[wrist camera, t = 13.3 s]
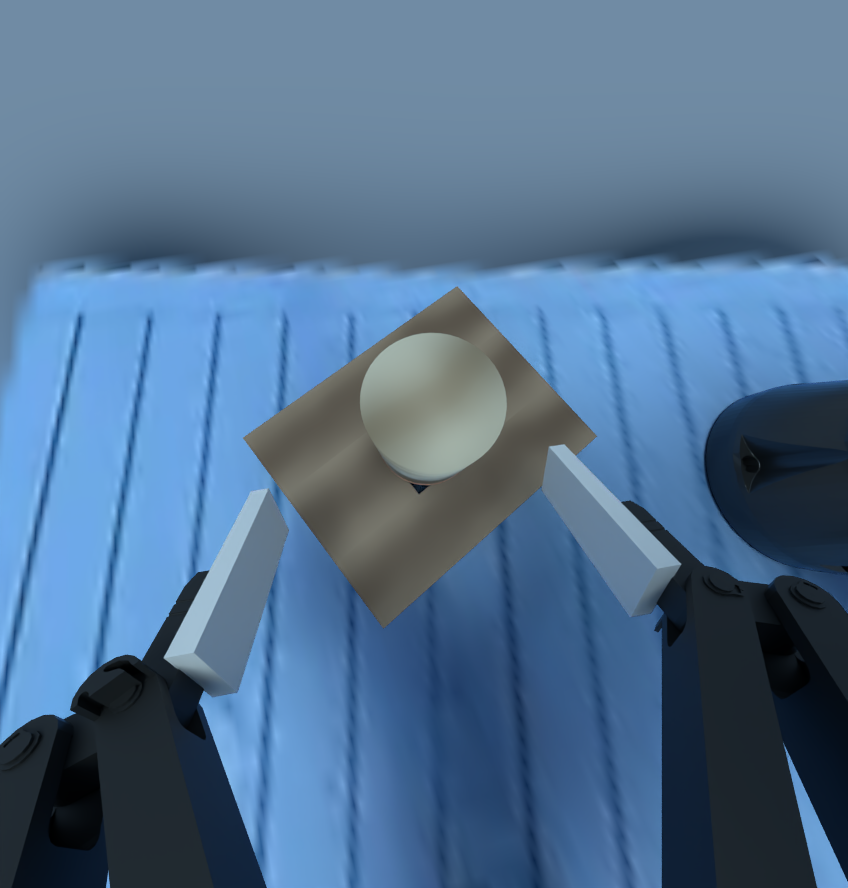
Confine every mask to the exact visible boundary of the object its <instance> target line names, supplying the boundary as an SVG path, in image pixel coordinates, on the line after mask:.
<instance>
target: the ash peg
mask: <svg viewBox="0 0 848 888" xmlns="http://www.w3.org/2000/svg"><path fill="white" fill-rule="evenodd" d="M506 409H507V398H506V392H505V387H504V384H503V381H502V378H501V376H500V374H499V372H498V370H497V369H496V367H495V365H494V364H493V363H492V361H491V360H490V359H489V358H488V357H487V356H486V355H485V354H484V353H483V352H482V351H481V350H480V349H478V348H477V347H476V346H474V345H472V344H471V343H469V342H467V341H465V340H463V339H461V338H458V337H455V336H452V335H448V334H442V333H422V334H416V335H412V336H409V337H406V338H403V339H401V340H399V341H397V342H395V343H393V344H392V345H390V346H388V347H387V348H386V349H385V350H384V351H382V352H381V353H380V354H379V355H378V356H377V357H376V359H375V360H374V361H373V363H372V364H371V365H370V367H369V369H368V371H367V373H366V375H365V377H364V380H363V383H362V388H361V393H360V410H361V415H362V420H363V423H364V426H365V428H366V430H367V432H368V434H369V436H370V438H371V440H372V441H373V443H374V444H375V446H376V448H377V449H378V451H379V453H380V455H381V457H382V459H383V461H384V462H385V464H386V465H387V467H388V468H389V469H390V470H391V471H392V472H393V473H394V474H395V475H397V476H398V477H400V478H401V479H403V480H405V481H407V482H410V483H413V484H418V485H435V484H439V483H442V482H445V481H447V480H449V479H451V478H452V477H454V476H455V475H457V474H458V473H459V472H460V471H462V470H463V469H465V468H466V467H468V466H469V465H471V464H472V463H473V462H475V461H476V460H478V459H479V458H480V457H482V456H483V455H484V454H485V453H486V452H487V451H488V450H489V449H490V448H491V447H492V445H493V444H494V443H495V441H496V440H497V438H498V436H499V435H500V432H501V430H502V428H503V425H504V421H505V417H506Z"/></svg>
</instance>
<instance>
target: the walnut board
mask: <svg viewBox="0 0 848 888" xmlns="http://www.w3.org/2000/svg"><path fill="white" fill-rule="evenodd" d="M422 333H442V334H448V335H452V336H455V337H458V338H461V339H463V340H465V341H467V342H469V343H471V344H472V345H474V346H476V347H477V348H478V349H480V350H481V351H482V352H483V353H484V354H485V355H486V356H487V357H488V358H489V359H490V360H491V361H492V363H493V364H494V365H495V367H496V369H497V370H498V372H499V374H500V376H501V378H502V381H503V384H504V387H505V392H506V398H507V409H506V417H505V421H504V425H503V428H502V430H501V432H500V435H499V436H498V438H497V440H496V441H495V443H494V444H493V445H492V447H491V448H490V449H489V450H488V451H487V452H486V453H485V454H484V455H483V456H482V457H480V458H479V459H478V460H476V461H475V462H473V463H472V464H471V465H469V466H468V467H466V468H465V469H463V470H462V471H460V472H459V473H458V474H457V475H455V476H454V477H452V478H451V479H449V480H447V481H445V482H442V483H439V484H435V485H430V486H428V487H427V488H426V489H425V490H424V491H422V492H421V493H420V494H418V492H417V491H416V490H415V489H414V487H413V486H412V485H411V484H410V482H407V481H405V480H403V479H401V478H400V477H398V476H397V475H395V474H394V473H393V472H392V471H391V470H390V469H389V468H388V467H387V465H386V464H385V462H384V461H383V459H382V457H381V455H380V453H379V451H378V449H377V448H376V446H375V444H374V443H373V441H372V440H371V438H370V436H369V434H368V432H367V430H366V428H365V426H364V423H363V420H362V415H361V410H360V393H361V388H362V383H363V380H364V377H365V375H366V373H367V371H368V369H369V367H370V365H371V364H372V363H373V361H374V360H375V359H376V357H377V356H378V355H379V354H380V353H381V352H382V351H384V350H385V349H386V348H387V347H388V346H390V345H392V344H393V343H395V342H397V341H399V340H401V339H403V338H406V337H409V336H412V335H416V334H422ZM596 437H597V436H596V435H595V433H594V432H593V431H592V430H591V429H590V428H589V427H588V426H587V425H586V424H585V423H584V422H583V421H582V420H581V418H580V417H579V416H578V415H577V414H576V413H575V412H574V411H573V410H572V409H571V408H570V407H569V406H568V405H567V403H566V402H565V401H564V400H563V399H562V398H561V397H560V396H559V395H558V394H557V393H556V392H555V391H554V390H553V388H552V387H551V386H550V385H549V384H548V383H547V382H546V381H545V380H544V379H543V378H542V377H541V376H540V375H539V373H538V372H537V371H536V370H535V369H534V368H533V367H532V366H531V365H530V364H529V363H528V362H527V361H526V360H525V358H524V357H523V356H522V355H521V354H520V353H519V352H518V351H517V350H516V349H515V348H514V347H513V346H512V344H511V343H510V342H509V341H508V340H507V339H506V338H505V337H504V336H503V335H502V334H501V333H500V332H499V331H498V329H497V328H496V327H495V326H494V325H493V324H492V323H491V322H490V321H489V320H488V319H487V318H486V317H485V316H484V314H483V313H482V312H481V311H480V310H479V309H478V308H477V307H476V306H475V305H474V304H473V303H472V302H471V301H470V299H469V298H468V297H467V296H466V295H465V294H464V293H463V292H462V291H461V290H460V289H459V288H458V287H455V288H454V289H452V290H451V291H450V292H448V293H447V294H445V295H444V296H443V297H441V298H440V299H438V300H437V301H436V302H434V303H433V304H431V305H430V306H428V307H427V308H426V309H424V310H423V311H421V312H420V313H419V314H417V315H416V316H414V317H413V318H412V319H410V320H409V321H407V322H406V323H404V324H403V325H402V326H400V327H399V328H397V329H396V330H395V331H393V332H392V333H390V334H389V335H388V336H386V337H385V338H383V339H382V340H380V341H379V342H378V343H376V344H375V345H373V346H372V347H371V348H369V349H368V350H366V351H365V352H364V353H362V354H361V355H359V356H358V357H356V358H355V359H354V360H352V361H351V362H349V363H348V364H347V365H345V366H344V367H342V368H341V369H340V370H338V371H337V372H335V373H334V374H332V375H331V376H330V377H328V378H327V379H325V380H324V381H323V382H321V383H320V384H318V385H317V386H316V387H314V388H313V389H311V390H310V391H308V392H307V393H306V394H304V395H303V396H301V397H300V398H299V399H297V400H296V401H294V402H293V403H292V404H290V405H289V406H287V407H286V408H284V409H283V410H282V411H280V412H279V413H277V414H276V415H275V416H273V417H272V418H270V419H269V420H268V421H266V422H265V423H263V424H262V425H260V426H259V427H258V428H256V429H255V430H253V431H252V432H251V433H249V434H248V435H246V436H245V437H244V438H243V439H244V440H245V441H246V443H247V444H248V445H249V447H250V448H251V450H252V451H253V452H254V454H255V455H256V456H257V458H258V459H259V460H260V462H261V463H262V464H263V466H264V467H265V469H266V470H267V471H268V473H269V474H270V475H271V477H272V478H273V479H274V481H275V482H276V483H277V485H278V486H279V488H280V489H281V490H282V492H283V493H284V494H285V496H286V497H287V498H288V500H289V501H290V502H291V504H292V505H293V507H294V508H295V509H296V511H297V512H298V513H299V515H300V516H301V517H302V519H303V520H304V521H305V523H306V524H307V526H308V527H309V528H310V530H311V531H312V532H313V534H314V535H315V536H316V538H317V539H318V540H319V542H320V543H321V545H322V546H323V547H324V549H325V550H326V551H327V553H328V554H329V555H330V557H331V558H332V559H333V561H334V562H335V564H336V565H337V566H338V568H339V569H340V570H341V572H342V573H343V574H344V576H345V577H346V578H347V580H348V581H349V583H350V584H351V585H352V587H353V588H354V589H355V591H356V592H357V593H358V595H359V596H360V597H361V599H362V600H363V602H364V603H365V604H366V606H367V607H368V608H369V610H370V611H371V612H372V614H373V615H374V617H375V618H376V619H377V621H378V622H379V623H380V625H381V626H382V627H383V629H384V628H385V627H386V626H387V625H388V624H389V623H390V622H391V621H393V620H394V619H395V618H396V617H397V616H398V615H399V614H400V613H401V612H403V611H404V610H405V609H406V608H407V607H408V606H409V605H410V604H411V603H413V602H414V601H415V600H416V599H417V598H418V597H419V596H420V595H421V594H423V593H424V592H425V591H426V590H427V589H428V588H429V587H430V586H431V585H433V584H434V583H435V582H436V581H437V580H438V579H439V578H440V577H441V576H443V575H444V574H445V573H446V572H447V571H448V570H449V569H450V568H451V567H453V566H454V565H455V564H456V563H457V562H458V561H459V560H460V559H461V558H463V557H464V556H465V555H466V554H467V553H468V552H469V551H470V550H471V549H473V548H474V547H475V546H476V545H477V544H478V543H479V542H480V541H481V540H483V539H484V538H485V537H486V536H487V535H488V534H489V533H490V532H491V531H493V530H494V529H495V528H496V527H497V526H498V525H499V524H500V523H501V522H503V521H504V520H505V519H506V518H507V517H508V516H509V515H510V514H511V513H513V512H514V511H515V510H516V509H517V508H518V507H519V506H520V505H521V504H522V503H524V502H525V501H526V500H527V499H528V498H529V497H530V496H531V495H532V494H534V493H535V492H536V491H537V490H538V489H539V488H540V487H541V486H542V484H543V478H544V472H545V466H546V461H547V455H548V449H549V447H550V446H556V445H563V444H564V445H565V446H566V447H567V448H568V449H569V450H570V451H571V452H572V453H573V454H574V455H575V456H576V455H577V454H578V453H579V452H580V451H581V450H582V449H584V448H585V447H586V446H587V445H588V444H589V443H590V442H591V441H592V440H594V439H595V438H596Z"/></svg>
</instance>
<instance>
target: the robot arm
mask: <svg viewBox="0 0 848 888" xmlns="http://www.w3.org/2000/svg"><path fill="white" fill-rule="evenodd" d="M706 465H707V473H708V479H709V483H710V486H711V490H712V492H713V495H714V497H715V500H716V502H717V504H718V506H719V508H720V510H721V511H722V513H723V514H724V516H725V518H726V519H727V520H728V522H729V523H730V524H731V526H732V527H733V528H734V529H735V530H736V532H737V533H738V534H739V535H740V536H741V537H742V538H743V539H744V540H745V541H747V542H748V543H749V544H750V545H751V546H753V547H754V548H755V549H757V550H758V551H760V552H761V553H763V554H764V555H766V556H768V557H770V558H772V559H774V560H776V561H778V562H781V563H783V564H786V565H789V566H793V567H798V568H803V569H809V570H816V571H822V572H828V573H835V574H848V380H845V381H831V382H819V383H808V384H791V385H785V386H780V387H776V388H772V389H769V390H766V391H763V392H760V393H756V394H753V395H750V396H747V397H745V398H742V399H740V400H738V401H737V402H735V403H733V404H732V405H731V406H729V407H728V408H727V409H726V410H725V411H724V412H723V413H722V414H721V415H720V417H719V418H718V419H717V421H716V423H715V424H714V426H713V428H712V431H711V433H710V436H709V440H708V444H707V452H706ZM542 491H543V493H544V494H545V496H546V497H547V499H548V500H549V501H550V503H551V504H552V506H553V507H554V509H555V510H556V511H557V513H558V514H559V516H560V517H561V519H562V520H563V522H564V523H565V524H566V526H567V527H568V529H569V530H570V532H571V533H572V535H573V536H574V537H575V539H576V540H577V542H578V543H579V545H580V546H581V548H582V549H583V550H584V552H585V553H586V555H587V556H588V558H589V559H590V561H591V562H592V563H593V565H594V566H595V568H596V569H597V571H598V572H599V573H600V575H601V576H602V578H603V579H604V581H605V582H606V584H607V585H608V586H609V588H610V589H611V591H612V592H613V594H614V595H615V597H616V598H617V599H618V601H619V602H620V604H621V605H622V607H623V608H624V610H625V611H626V612H627V614H628V615H629V617H635V616H640V615H645V614H651V613H652V611H653V609H654V608H655V606H656V604H658V605H659V607H660V608H661V609H662V611H663V612H664V614H663V615H662V617H661V618H660V620H659V621H658V623H657V625H656V627H655V630H654V631H657V632H659V631H660V629H661V628H662V888H817V885H816V881H815V877H814V872H813V868H812V864H811V860H810V855H809V851H808V847H807V842H806V838H805V834H804V830H803V825H802V821H801V817H800V812H799V808H798V804H797V800H796V795H795V791H794V787H793V782H792V778H791V774H790V770H789V765H788V761H787V757H786V752H785V748H784V745H785V747H786V749H787V751H788V753H789V755H790V758H791V760H792V762H793V764H794V766H795V768H796V771H797V773H798V775H799V777H800V779H801V781H802V784H803V786H804V788H805V790H806V792H807V794H808V797H809V799H810V801H811V803H812V805H813V807H814V810H815V812H816V814H817V816H818V818H819V820H820V823H821V825H822V827H823V829H824V831H825V833H826V836H827V838H828V840H829V842H830V844H831V846H832V849H833V851H834V853H835V855H836V857H837V859H838V862H839V864H840V866H841V868H842V870H843V872H844V875H845V877H846V879H847V881H848V614H847V613H846V611H845V610H844V609H843V608H842V606H841V605H840V604H839V603H838V602H837V601H836V600H835V599H834V598H833V597H832V596H831V595H830V594H829V593H828V592H826V591H825V590H823V589H822V588H820V587H819V586H817V585H815V584H813V583H811V582H809V581H807V580H804V579H801V578H798V577H794V576H784V575H782V576H779V577H777V578H775V579H774V580H773V581H772V583H771V584H770V585H767V584H759V583H751V582H743V581H738V580H737V579H735V578H734V577H732V576H731V575H729V574H728V573H726V572H724V571H721V570H719V569H717V568H713V567H708V566H704V565H703V564H702V563H701V562H700V561H698V560H697V559H696V558H695V557H694V556H693V555H692V554H691V553H690V552H689V551H688V550H687V549H686V548H685V547H684V546H683V545H682V544H681V543H680V542H679V541H678V540H677V539H675V538H674V537H673V536H672V535H671V534H670V533H669V532H668V531H667V530H665V529H664V527H663V526H662V525H661V524H660V523H659V522H658V521H657V522H656V520H655V518H654V517H653V516H651V515H650V514H649V513H648V512H647V511H646V510H645V509H644V508H642V507H640V506H639V505H637V504H635V503H634V502H632V501H624V502H620V501H619V500H618V499H617V498H616V497H615V496H614V495H613V494H612V493H611V492H610V491H609V490H608V489H607V488H606V487H605V486H604V485H603V484H602V482H601V481H600V480H599V479H598V478H597V477H596V476H595V475H594V474H593V473H592V472H591V471H590V470H589V469H588V468H587V467H586V466H585V465H584V464H583V463H582V462H581V461H580V460H579V459H578V458H577V457H576V456H575V455H574V454H573V453H572V452H571V451H570V450H569V449H568V448H567V447H566V446H565V445H564V444H563V445H556V446H550V447H549V449H548V455H547V461H546V466H545V472H544V478H543V484H542ZM288 531H289V529H288V527H287V525H286V523H285V521H284V519H283V517H282V515H281V513H280V511H279V509H278V507H277V505H276V503H275V501H274V499H273V496H272V494H271V492H270V490H269V489H262V490H255V491H251V492H250V494H249V496H248V498H247V500H246V502H245V504H244V506H243V508H242V510H241V511H240V513H239V515H238V517H237V519H236V521H235V523H234V525H233V527H232V529H231V531H230V532H229V534H228V536H227V538H226V540H225V542H224V544H223V546H222V548H221V550H220V551H219V553H218V555H217V557H216V559H215V561H214V563H213V565H212V567H211V569H210V570H209V571H203V572H198V573H197V574H196V575H195V576H194V577H193V578H192V579H191V580H190V581H189V582H188V583H187V584H186V586H185V587H184V588H183V590H182V592H181V594H180V595H179V597H178V599H177V601H176V604H175V605H174V606H173V608H172V609H171V611H170V613H169V617H167V618H166V620H165V622H164V623H163V625H162V627H161V629H160V630H159V632H158V634H157V636H156V637H155V639H154V641H153V642H152V644H151V646H150V648H149V649H148V651H147V653H146V655H145V656H144V658H143V660H142V661H141V660H139V659H138V658H137V657H135V656H132V655H123V656H120V657H116V658H114V659H112V660H111V661H109V662H107V663H105V664H103V665H102V666H101V667H100V668H98V669H97V670H96V671H95V672H94V673H92V674H91V675H90V676H89V677H88V678H87V680H86V681H85V682H84V683H83V684H82V685H81V686H80V688H79V689H78V691H77V693H76V694H75V696H74V698H73V700H72V704H71V708H70V710H71V711H73V712H75V714H73V715H71V716H69V717H67V718H65V719H62V718H59V717H57V716H55V715H43V716H40V717H38V718H36V719H33V720H31V721H29V722H28V723H26V724H25V725H23V726H22V727H20V728H19V729H17V730H16V731H15V732H14V733H13V734H12V735H11V736H9V737H8V738H7V739H6V740H5V741H4V742H3V743H2V744H1V745H0V888H106V883H107V875H108V871H109V881H110V888H267V887H266V884H265V881H264V879H263V876H262V873H261V870H260V867H259V865H258V862H257V859H256V856H255V853H254V851H253V848H252V845H251V842H250V840H249V837H248V834H247V831H246V828H245V826H244V823H243V820H242V817H241V814H240V812H239V809H238V806H237V803H236V800H235V798H234V795H233V792H232V789H231V786H230V784H229V781H228V778H227V775H226V773H225V770H224V767H223V764H222V761H221V759H220V756H219V753H218V750H217V747H216V745H215V742H214V739H213V736H212V733H211V731H210V728H209V725H208V722H207V719H206V717H205V714H204V711H203V708H202V707H201V706H200V704H199V701H200V698H201V695H202V693H203V690H204V691H205V692H207V693H208V694H209V695H210V696H212V697H216V696H222V695H227V694H232V693H237V692H238V690H239V686H240V683H241V680H242V677H243V674H244V671H245V667H246V664H247V661H248V658H249V655H250V652H251V648H252V645H253V642H254V639H255V636H256V633H257V629H258V626H259V623H260V620H261V617H262V614H263V610H264V607H265V604H266V601H267V598H268V595H269V591H270V588H271V585H272V582H273V579H274V575H275V572H276V569H277V566H278V563H279V560H280V556H281V553H282V550H283V547H284V544H285V541H286V537H287V534H288ZM783 742H784V744H783Z"/></svg>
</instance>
